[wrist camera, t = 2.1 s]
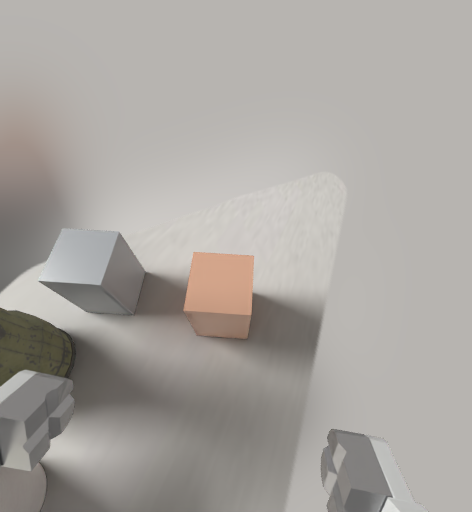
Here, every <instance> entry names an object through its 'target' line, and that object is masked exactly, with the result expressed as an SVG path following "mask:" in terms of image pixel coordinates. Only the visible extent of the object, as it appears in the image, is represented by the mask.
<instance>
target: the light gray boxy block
mask: <svg viewBox="0 0 472 512" xmlns="http://www.w3.org/2000/svg"><path fill="white" fill-rule="evenodd" d="M145 272H146V271H145V270H144V268H143V267H142V265H141V264H140V262H139V261H138V259H137V258H136V256H135V255H134V253H133V252H132V250H131V249H130V247H129V246H128V244H127V243H126V241H125V240H124V238H123V237H122V235H121V234H120V233H119V232H115V231H99V230H83V229H66V228H63V229H62V231H61V233H60V235H59V237H58V239H57V241H56V244H55V245H54V248H53V250H52V252H51V254H50V256H49V258H48V260H47V262H46V264H45V266H44V269H43V271H42V273H41V275H40V277H39V279H38V281H39V282H40V283H42V284H44V285H45V286H47V287H48V288H50V289H51V290H53V291H54V292H56V293H58V294H59V295H61V296H62V297H64V298H65V299H67V300H69V301H70V302H72V303H73V304H75V305H76V306H78V307H80V308H81V309H83V310H84V311H86V312H95V313H109V314H123V315H134V314H135V310H136V306H137V302H138V299H139V295H140V291H141V287H142V283H143V280H144V276H145Z"/></svg>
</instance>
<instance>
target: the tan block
mask: <svg viewBox="0 0 472 512" xmlns="http://www.w3.org/2000/svg"><path fill="white" fill-rule="evenodd" d="M253 266H254V256H249V255H233V254H217V253H201V252H193V258H192V264H191V270H190V275H189V281H188V287H187V293H186V298H185V304H184V310H183V311H184V313H185V314H186V316H187V318H188V320H189V322H190V324H191V326H192V327H193V329H194V331H195V333H196V335H198V336H212V337H225V338H239V339H247V338H248V332H249V326H250V320H251V312H252V289H253Z"/></svg>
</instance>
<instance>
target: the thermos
mask: <svg viewBox="0 0 472 512" xmlns="http://www.w3.org/2000/svg"><path fill="white" fill-rule="evenodd" d="M75 354H76V353H75V346H74V342H73V341H72V339H71V337H70V336H69V335H68V334H67V333H65V332H64V331H63V330H61V329H58V328H56V327H55V326H53V325H52V324H51V323H49V322H47V321H44V320H42V319H40V318H38V317H36V316H33V315H29V314H26V313H23V312H20V311H7V310H5V309H2V308H0V387H1V386H2V385H3V384H4V383H6V382H7V381H8V380H9V379H11V378H12V377H13V376H14V375H16V374H17V373H18V372H20V371H23V370H30V371H35V372H39V373H45V374H49V375H54V376H58V377H63V378H68V376H69V374H70V372H71V370H72V368H73V365H74V360H75Z"/></svg>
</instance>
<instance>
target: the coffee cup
mask: <svg viewBox="0 0 472 512" xmlns="http://www.w3.org/2000/svg"><path fill="white" fill-rule="evenodd" d="M46 488H47V480H46V474H45V471H44V469H43V467H42V466H41V464H40V463H39V462H38V464H37V465H36V466H35V467H34V469H33V470H32V471H26V470H20V469H14V468H8V467H3V466H1V469H0V512H40V510H41V507H42V505H43V502H44V499H45V495H46Z"/></svg>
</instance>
